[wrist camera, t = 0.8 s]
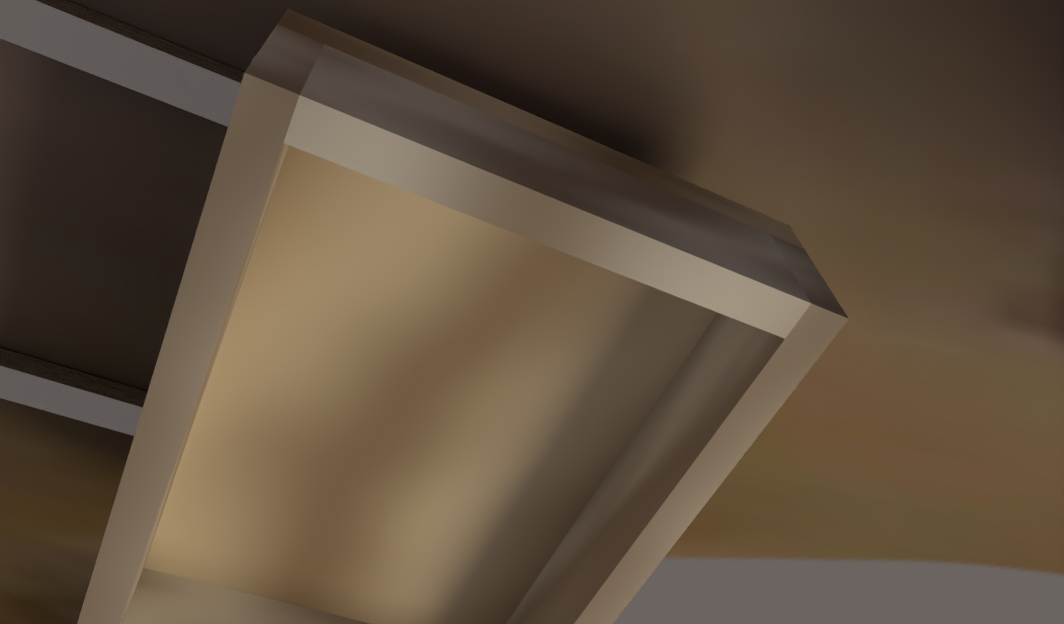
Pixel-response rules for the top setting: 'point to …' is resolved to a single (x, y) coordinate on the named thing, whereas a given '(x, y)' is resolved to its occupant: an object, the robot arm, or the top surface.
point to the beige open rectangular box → (441, 362)
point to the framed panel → (146, 67)
